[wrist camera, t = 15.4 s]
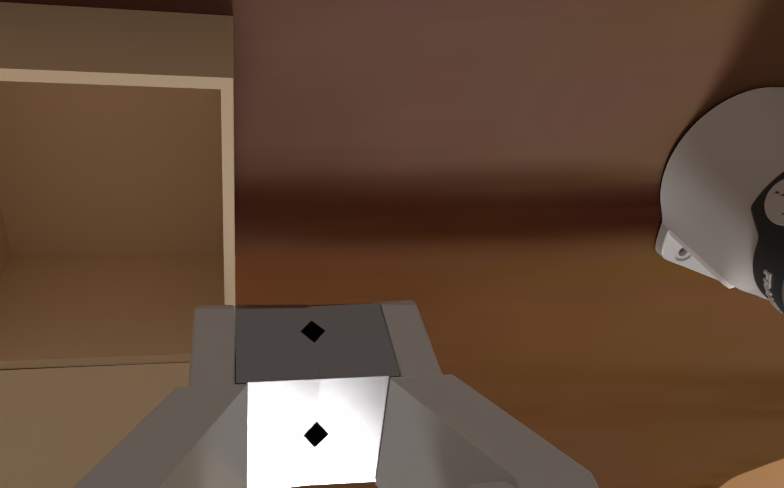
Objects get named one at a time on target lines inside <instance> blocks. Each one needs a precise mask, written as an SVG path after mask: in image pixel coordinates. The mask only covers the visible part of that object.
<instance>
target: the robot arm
mask: <svg viewBox="0 0 784 488" xmlns="http://www.w3.org/2000/svg"><path fill="white" fill-rule="evenodd" d="M660 199H661V209H662V224H661V227H660V230H659V233H658V236H657V240H656V246H655V248H656V251H657V253H658V254H659V255H661V256H662V257H663V258H665V259H666V260H669V261H671V262H674V263H676V264H679V265H681V266H684V267H686V268H689V269H691V270H694V271H696V272H699V273H701V274H704V275H706V276H709V277H712V278H714V279H717V280H719V281H720V282H721V283H722V284H723V285H725V286H726V287H728V288H733V287H736V288H738V289H740V290H742V291H745V292H748V293H751V294H754V295H757V296H760V297H762V298H765V299H768V300H769V301H770V302H771V303H772V305H773V306H774V307H775V308H776V309H777V310H778V311H779V312H781V313H782V314H784V87H766V88H759V89H754V90H750V91H747V92H744V93H741V94H739V95H736V96H734V97H732V98H730V99H728V100H726V101H724V102H722V103H721V104H719V105H718V106H716V107H715V108H713V109H712V110H710V111H709V112H708V113H707V114H705V115H704V116H703V117H702V118H701V119H700V120H698V121H697V122H696V123H695V124H694V125H693V126H692V127H691V129H690V130H689V131H688V132H687V133H686V134H685V136H684V137H683V138H682V139H681V141H680V142H679V144H678V145H677V147H676V148H675V150H674V152H673V154H672V155H671V157H670V159H669V162H668V164H667V166H666V169H665V172H664V175H663V179H662V184H661V194H660ZM682 248H683V249H682ZM680 249H682V250H681V251H680ZM374 481H376V486H377V487H378V488H599V487H598V485H597V483H596V481H595V479H594V477H593V475H592V473H591V472H590V471H588V470H587V469H585V468H584V467H583V466H581V465H580V464H578V463H577V462H576V461H574V460H573V459H571V458H570V457H568V456H567V455H566V454H564V453H563V452H561V451H560V450H559V449H557V448H556V447H554V446H553V445H551V444H550V443H549V442H547V441H546V440H544V439H543V438H542V437H540V436H539V435H537V434H536V433H535V432H533V431H532V430H530V429H529V428H527V427H526V426H525V425H523V424H522V423H520V422H519V421H518V420H516V419H515V418H513V417H512V416H510V415H509V414H508V413H506V412H505V411H503V410H502V409H501V408H499V407H498V406H496V405H495V404H493V403H492V402H491V401H489V400H488V399H486V398H485V397H484V396H482V395H481V394H479V393H478V392H476V391H475V390H474V389H472V388H471V387H469V386H468V385H467V384H465V383H464V382H462V381H461V380H460V379H458V378H457V377H455V376H454V375H442V372H441V370H440V367H439V364H438V362H437V359H436V356H435V353H434V351H433V348H432V345H431V343H430V340H429V337H428V335H427V332H426V329H425V327H424V324H423V321H422V318H421V316H420V313H419V310H418V308H417V305H416V303H414V302H413V301H412V300H405V301H386V302H378V303H363V304H332V305H235V308H234V306H233V305H198V306H196V308H195V311H194V319H193V331H192V344H191V357H190V369H189V382H188V387H177V388H175V389H174V390H173V391H172V392H171V393H170V394H169V395H168V396H167V397H166V398H165V399H164V400H163V401H162V402H161V403H160V404H159V405H158V406H157V407H156V408H155V409H154V410H153V411H152V412H151V413H149V414H148V415H147V416H146V417H145V418H144V419H143V420H142V421H141V422H140V423H139V424H138V425H137V426H136V427H135V428H134V429H133V430H132V431H131V432H130V433H129V434H128V435H127V436H126V437H125V438H124V439H123V440H122V441H120V442H119V443H118V444H117V445H116V446H115V447H114V448H113V449H112V450H111V451H110V452H109V453H108V454H107V455H106V456H105V457H104V458H103V459H102V460H101V461H100V462H99V463H98V464H97V465H96V466H95V467H94V468H93V469H91V470H90V471H89V472H88V473H87V474H86V475H85V476H84V477H83V478H82V479H81V480H80V481H79V482H78V483H77V484H76V485H75V486H74V487H73V488H284V487H294V486H303V485H312V484H313V485H314V484H334V483H354V482H374Z"/></svg>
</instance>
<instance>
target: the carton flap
mask: <svg viewBox="0 0 784 488" xmlns="http://www.w3.org/2000/svg"><path fill="white" fill-rule="evenodd" d="M189 369H190V363H169V364H144V365H120V366H95V367H70V368H46V369H21V370H0V488H73V487H74V486H75V485H76V484H77V483H78V482H79V481H80V480H81V479H82V478H83V477H84V476H85V475H86V474H87V473H88V472H89V471H90V470H91V469H93V468H94V467H95V466H96V465H97V464H98V463H99V462H100V461H101V460H102V459H103V458H104V457H105V456H106V455H107V454H108V453H109V452H110V451H111V450H112V449H113V448H114V447H115V446H116V445H117V444H118V443H119V442H120V441H122V440H123V439H124V438H125V437H126V436H127V435H128V434H129V433H130V432H131V431H132V430H133V429H134V428H135V427H136V426H137V425H138V424H139V423H140V422H141V421H142V420H143V419H144V418H145V417H146V416H147V415H148V414H149V413H151V412H152V411H153V410H154V409H155V408H156V407H157V406H158V405H159V404H160V403H161V402H162V401H163V400H164V399H165V398H166V397H167V396H168V395H169V394H170V393H171V392H172V391H173V390H174V389H175V388H177V387H188V382H189Z"/></svg>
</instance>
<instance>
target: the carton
mask: <svg viewBox="0 0 784 488" xmlns="http://www.w3.org/2000/svg"><path fill="white" fill-rule="evenodd" d="M198 305H233V306H234V308H235V178H234V53H233V16H227V15H210V14H193V13H177V12H160V11H143V10H127V9H110V8H93V7H77V6H60V5H43V4H27V3H10V2H0V369H19V368H43V367H68V366H93V365H118V364H143V363H168V362H190V357H191V344H192V331H193V319H194V311H195V308H196V306H198Z"/></svg>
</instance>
